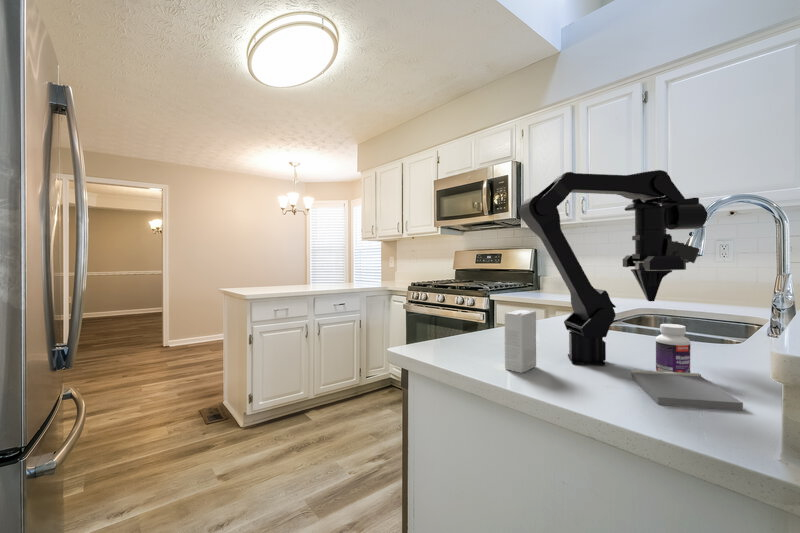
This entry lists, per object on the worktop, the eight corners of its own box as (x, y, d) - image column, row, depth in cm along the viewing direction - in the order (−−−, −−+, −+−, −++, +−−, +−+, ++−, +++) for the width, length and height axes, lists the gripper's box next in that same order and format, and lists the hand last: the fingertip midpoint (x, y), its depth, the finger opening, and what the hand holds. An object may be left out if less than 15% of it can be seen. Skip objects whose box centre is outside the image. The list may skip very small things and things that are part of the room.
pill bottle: (681, 382, 68) (681, 329, 68) (650, 374, 73) (649, 324, 72) (696, 376, 70) (696, 326, 70) (665, 369, 75) (665, 321, 75)
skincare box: (518, 363, 82) (517, 308, 82) (537, 367, 79) (537, 310, 78) (503, 369, 78) (502, 312, 77) (523, 374, 75) (522, 314, 74)
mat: (658, 404, 58) (658, 395, 58) (631, 377, 71) (631, 369, 71) (742, 410, 55) (742, 400, 55) (698, 381, 68) (698, 373, 68)
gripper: (717, 225, 70) (718, 307, 70) (674, 231, 88) (674, 296, 88) (650, 228, 73) (651, 307, 74) (621, 233, 91) (622, 296, 91)
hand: (650, 301), depth 82 cm, fingers closed
